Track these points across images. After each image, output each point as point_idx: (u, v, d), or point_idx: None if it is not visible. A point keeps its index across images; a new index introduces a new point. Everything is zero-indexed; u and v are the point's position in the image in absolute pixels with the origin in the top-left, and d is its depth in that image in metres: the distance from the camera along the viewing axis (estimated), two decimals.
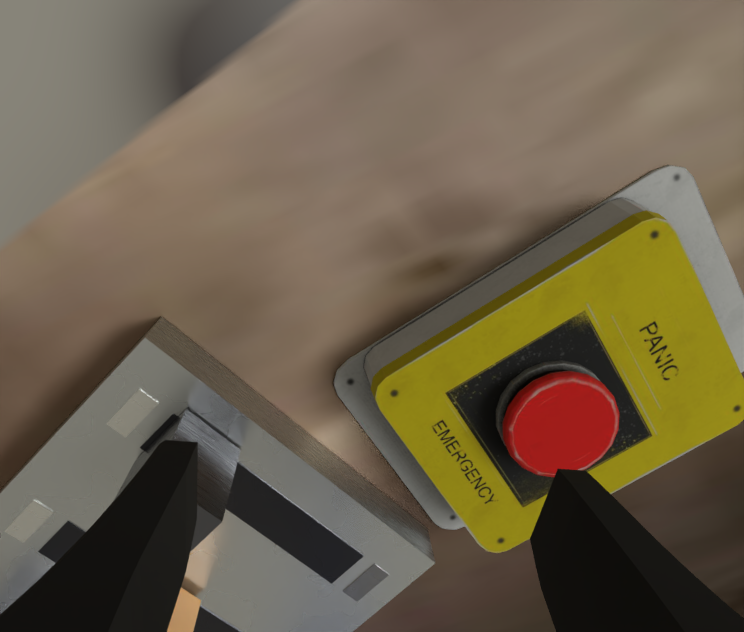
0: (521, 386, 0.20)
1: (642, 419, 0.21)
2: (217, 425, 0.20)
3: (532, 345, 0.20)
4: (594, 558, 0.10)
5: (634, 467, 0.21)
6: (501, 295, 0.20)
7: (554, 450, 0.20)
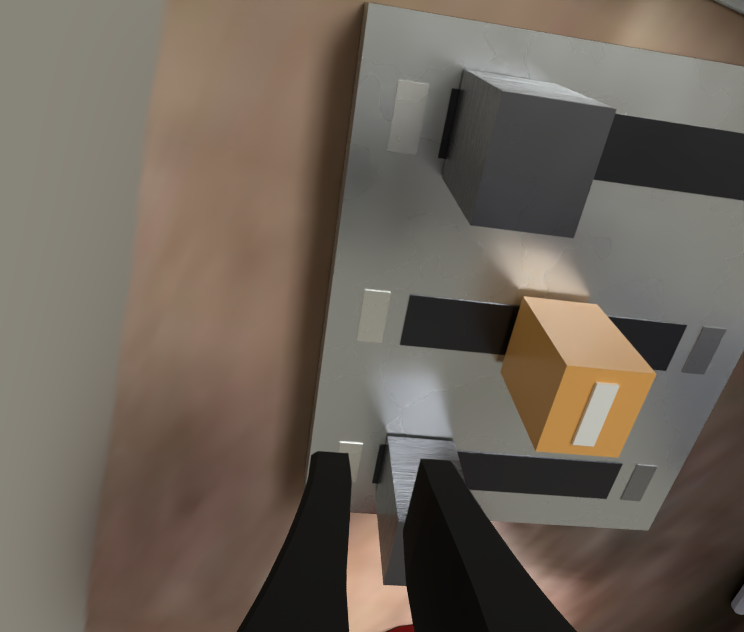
0: None
1: None
2: (510, 69, 0.15)
3: None
4: (437, 549, 0.10)
5: None
6: None
7: None
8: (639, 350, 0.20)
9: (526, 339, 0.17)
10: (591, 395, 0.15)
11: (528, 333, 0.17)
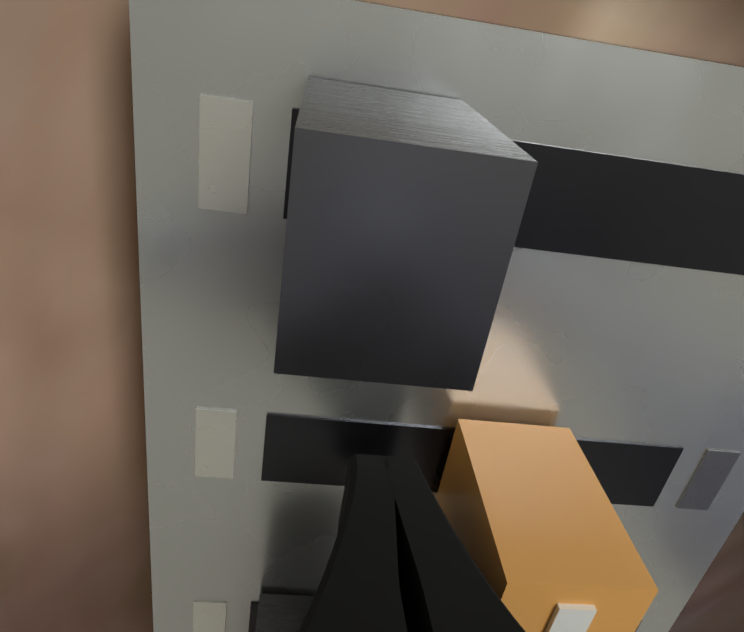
0: None
1: None
2: (388, 77, 0.09)
3: None
4: None
5: None
6: None
7: None
8: (615, 481, 0.14)
9: (459, 491, 0.11)
10: (551, 620, 0.09)
11: (462, 483, 0.11)
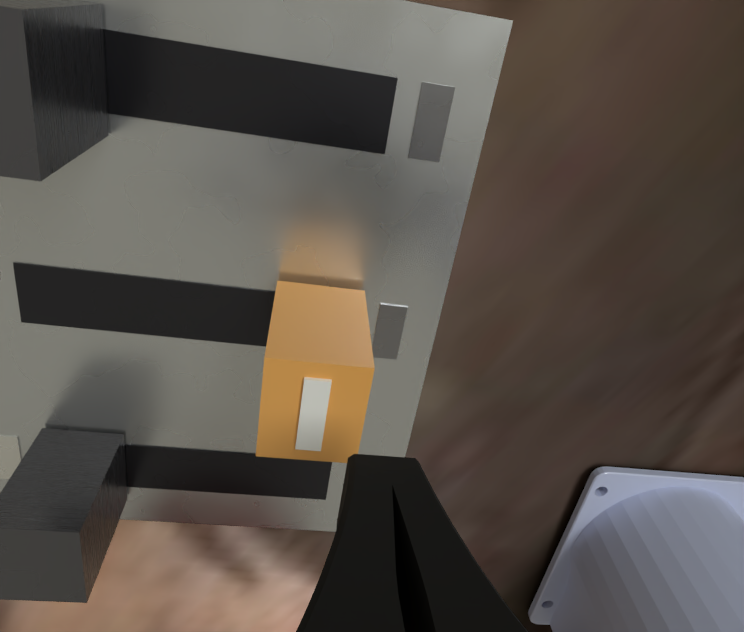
0: None
1: None
2: None
3: None
4: (395, 547, 0.10)
5: None
6: None
7: None
8: None
9: None
10: (303, 392, 0.13)
11: None
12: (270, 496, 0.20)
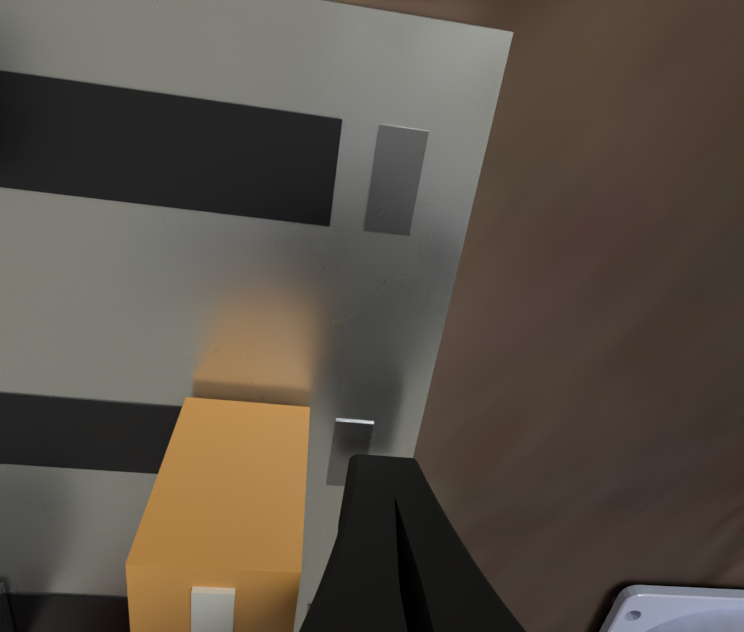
0: None
1: None
2: None
3: None
4: None
5: None
6: None
7: None
8: None
9: None
10: (194, 605, 0.09)
11: None
12: None
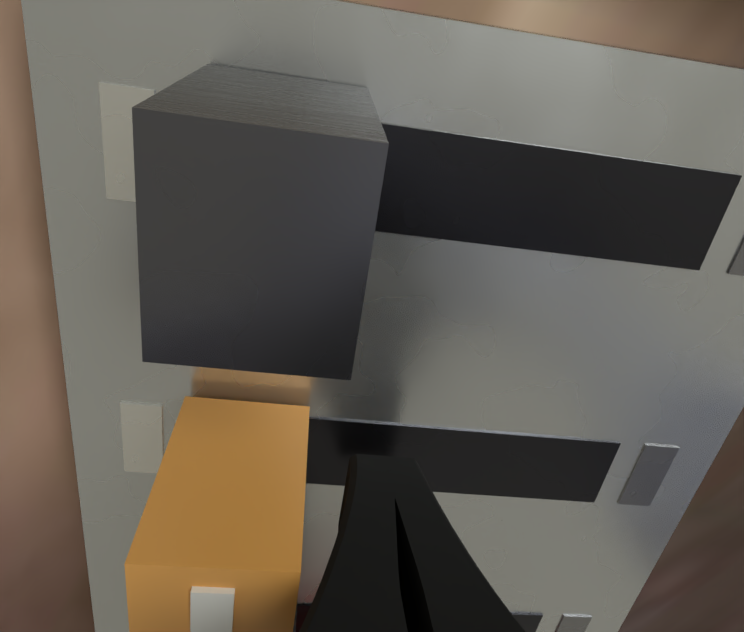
0: None
1: None
2: (291, 64, 0.09)
3: None
4: None
5: None
6: None
7: None
8: (553, 477, 0.13)
9: None
10: (192, 604, 0.08)
11: None
12: None
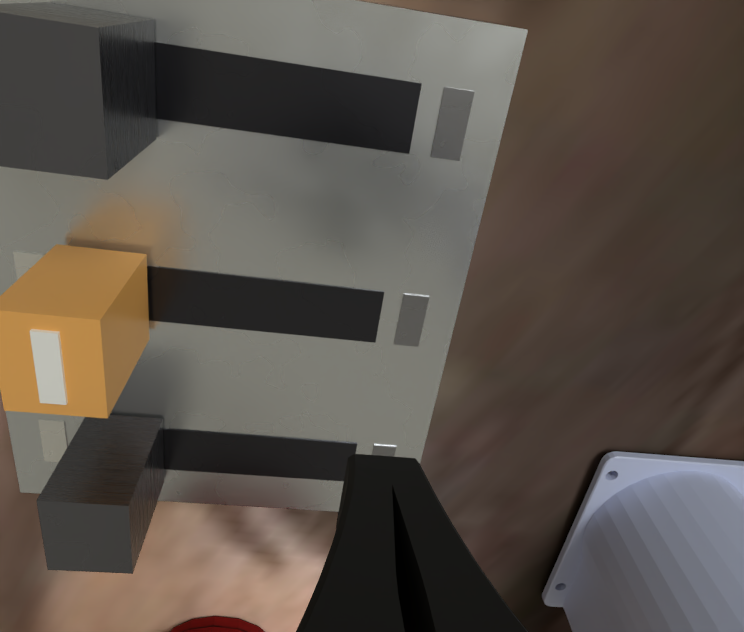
0: None
1: None
2: (103, 3, 0.14)
3: None
4: (396, 547, 0.10)
5: None
6: None
7: None
8: (340, 320, 0.18)
9: None
10: (34, 344, 0.13)
11: None
12: (298, 478, 0.21)
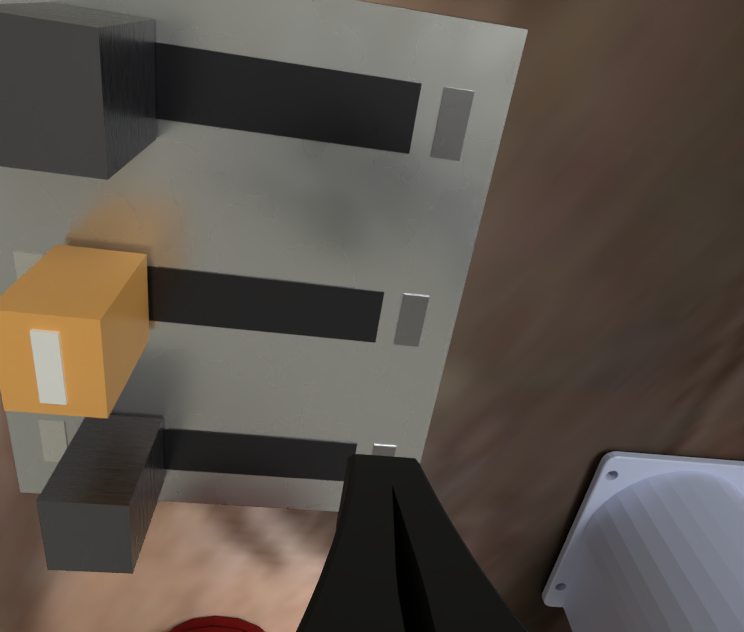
0: None
1: None
2: (103, 3, 0.14)
3: None
4: (396, 547, 0.10)
5: None
6: None
7: None
8: (340, 320, 0.18)
9: None
10: (34, 344, 0.13)
11: None
12: (298, 478, 0.21)
